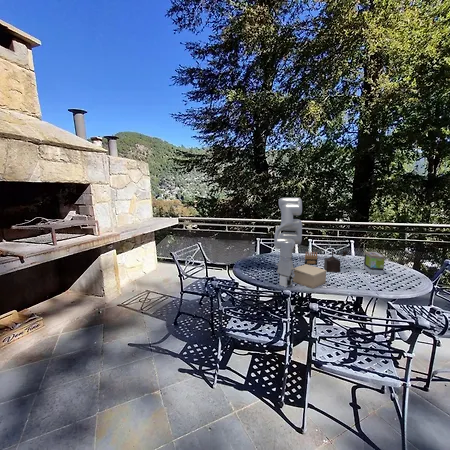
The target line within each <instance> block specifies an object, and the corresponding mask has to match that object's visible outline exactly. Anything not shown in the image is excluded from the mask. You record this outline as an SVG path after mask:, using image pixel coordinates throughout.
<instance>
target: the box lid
mask: <svg viewBox="0 0 450 450" xmlns="http://www.w3.org/2000/svg"><path fill="white" fill-rule="evenodd" d="M293 271H297V272H300V273H303V274H306V275H309V276H312V277H315V276H317V275H320V274H322V273H324V272H326V271H327V270H325V269H324V268H320V267H317V266H315V265H307V264H305V263H304V264H302V265H299V266H296V267H293ZM326 273H327V272H326Z"/></svg>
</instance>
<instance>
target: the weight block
mask: <svg viewBox="0 0 450 450" xmlns="http://www.w3.org/2000/svg"><path fill="white" fill-rule="evenodd" d="M291 276H292V275H291ZM289 277H290V276H289ZM287 280H288V277H287V276H285V275H280V276H279V284H278V285H279V286H280V285H281V287H283V286H284V288H287V287H289V286H291V285H293V284H292V282H293V278H292V279H291V285H289V286H288V285H287ZM286 286H287V287H286Z"/></svg>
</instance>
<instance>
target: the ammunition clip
mask: <svg viewBox="0 0 450 450" xmlns="http://www.w3.org/2000/svg"><path fill="white" fill-rule="evenodd" d="M305 264H307V265H311V266H318V252H317V251H316V252H315V251H312V252H311V251H310V252H309V251H305V255H304V265H305Z"/></svg>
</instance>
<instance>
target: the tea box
mask: <svg viewBox="0 0 450 450" xmlns="http://www.w3.org/2000/svg"><path fill="white" fill-rule="evenodd" d="M385 259H386V256H385V255H383V254H381V253H380V252H377V251H364V259H363V269H364V270H365V271H366V272H367V273H368V274H371V275H382V276H383V275H384V270H385V269H384V268H385V261H386V260H385Z"/></svg>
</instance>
